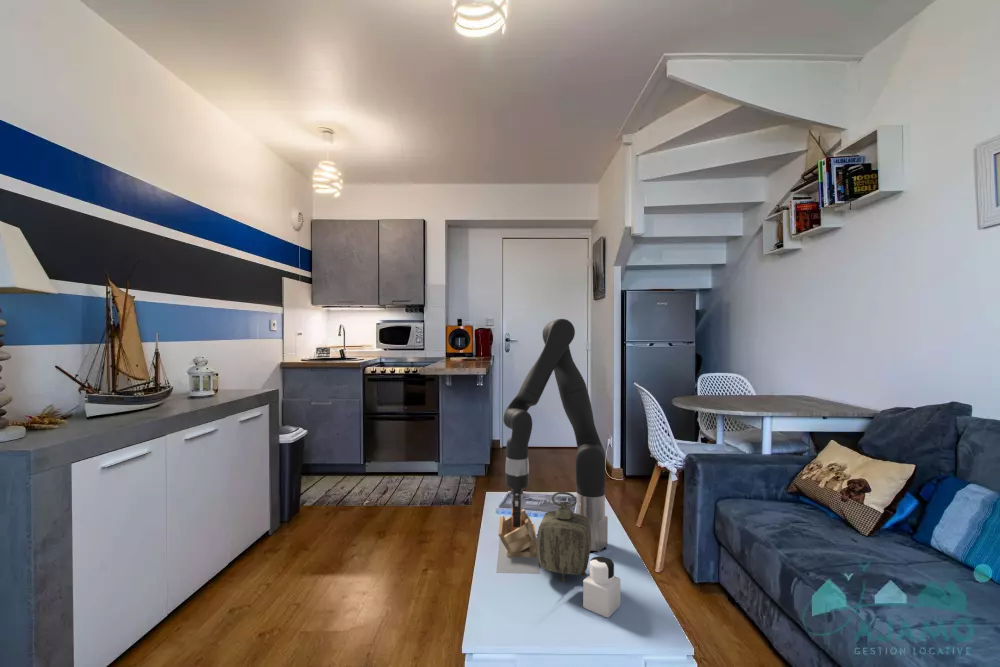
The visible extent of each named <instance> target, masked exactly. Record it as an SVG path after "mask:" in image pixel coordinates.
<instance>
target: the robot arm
mask: <svg viewBox="0 0 1000 667" xmlns="http://www.w3.org/2000/svg"><path fill="white" fill-rule="evenodd" d="M575 334H576V331H575V327H574V324H573V323H572V322H571V321H570V320H568V319H566V318H559V319H555V320H552V321H550V322H548V323H547V324H545V326H544V327H543V330H542V339H543V342H544V346H543V349H542V351H541V352H540V355H539V356H538V358H537V360H536V361H535V363H534V364H533V366H532V367H531V368H530V370H529V371H528V373H527V375H526V376H525V379H524V381H523V382H522V384H521V387H520V389H519V391H518V393H517V394H516V396H515V397H514V398H513V399H512V400H511V401H510V403H509V405H508V406H507V407H506V408H505V411H504V413H503V418H502V419H503V423H504V425H505V427H507V428H508V429H509V430H510V429H511V430H512V431H511V437H509V438H508V439H507V440H506V446H505V449H506V454H505V456H506V458H505V468H504V469H505V472H504V474H505V483H504V484H505V486H506V487H507V488H508V489H511V490H510V499H511V500H510V501H511V504H510V505H511V506H510V507H511V509H512V508H513V513H512V512H511V516H512V515H513V527H520V516H521V508H522V509H523V499H524V490H523V489H526V488H528V487H529V484H530V479H529V478H530V464H529V463H530V462H529V443H530V440H531V436H532V430H533V418H532V416H531V414H530V412H528V410H529V409H530V408H531V407H533V406H536V405H537V404H538V403H539V402H540V399H541V397H542V394H543V392H544V390H545V388H546V386H547V384H548V381H549V380H550V377H551V375H552V374H554V377H555V381H556V384H557V389H558V393H559V398H560V401H561V404H562V407H563V410H564V413H565V415H566V417H567V419H568V420H569V423H570V425H571V427H572V429H573V432H574V436H575V441H576V447H577V448H576V450H577V453H576V456H575V485H576V486H575V487H576V500H577V502H576V513H577V514H581V515H584V516H585V517H587V518H588V520H589V523H590V529H591V549H590V552H591V551H593V552H597V553H598V552H601V551H602V550H603V549H605V548H606V547H607V546H608V543H609V542H608V539H609V538H608V537H609V536H608V533H609V532H608V530H609V529H608V523H609V522H608V518H609V517H608V516H607V515H606V451H605V448H604V447H603V444H602V441H601V439H600V436H599V434H598V431H597V428H596V425H595V420H594V413H593V407H592V404H591V399H590V395H589V390H588V387H587V384H586V382H585V379H584V377H583V376H582V374H581V372H580V370H579V368H578V367H577V366H576V363H575V361H574V358H573V357H572V353H571V349H570V344H571V343H572V342H573V340H574V339H575ZM520 497H521V500H520ZM514 511H519V512H514ZM604 547H605V548H604Z"/></svg>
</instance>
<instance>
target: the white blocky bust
mask: <svg viewBox="0 0 1000 667" xmlns="http://www.w3.org/2000/svg"><path fill="white" fill-rule="evenodd" d="M589 560H590V561H589V575H588V576H587V577H585V578H584V579H583V581H582V608H584V609H586V610H589V611H590V612H593V613H595V614H596V615H597V614H598V615H600V616H602V617H605V618H606V619H608V618H610V617H611V616H612V614H614V612H616V610H617V609H618V608H619V607H620V606H621V578H620V577H617V576H615V563H614V561H613V560H612V559H610V558H609V557H607V556H602V555H601V556H594V557H592V558H591V559H589Z"/></svg>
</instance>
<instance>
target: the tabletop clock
mask: <svg viewBox="0 0 1000 667" xmlns="http://www.w3.org/2000/svg"><path fill="white" fill-rule="evenodd" d="M558 495H566V496H569V497H571V498H572V499H574V502H573V503H571V504H567V501H562V503H558V502H556V501H555V499H554V498H555V497H556V496H558ZM551 501H552V503H553V504H554V505H556V506H558V508H557V509H556V510H552V511H547V512H545V513H544V515H543V518H542V520H541V522H540V524H539V526H538V530H537V536H536V537H537V554H538V560H539V567H541V568H542V569H544V570H545V571H549V572H554V573H559V574H561V578H560V582H566V579H565V575H581V576H583V577H585V576H587V573H586V571H587V569H588V565H589V562H590V561H589V560H590V553H591V551H590V549H591V529H590V523H589V520H588V518H587V517H585V516H584V515H581V514H577V512H573V511H572V509H570V508H571V507H574V506H576V505H577V497H576V496H575V495H574V494H572V493H570V492H567V491H558V492H555V493H553V495H552V496H551Z"/></svg>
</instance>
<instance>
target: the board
mask: <svg viewBox="0 0 1000 667" xmlns="http://www.w3.org/2000/svg"><path fill="white" fill-rule="evenodd" d="M536 548H537V536H536ZM497 553H498V554H497V561H496V571H495V572H496V574H497V573H498V574H500V573H501V574H531V575H532V574H533V575H534V574H535V575H537V574H538V575H539V574H540V571H541V570H540V563H539V560H538V554H537V557H507V549H506V548H505V546H504V544H503V542H502V541H501V539H500V538H499V542H498V552H497Z"/></svg>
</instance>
